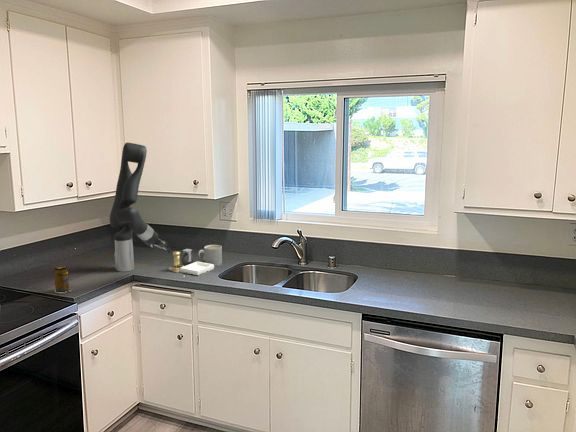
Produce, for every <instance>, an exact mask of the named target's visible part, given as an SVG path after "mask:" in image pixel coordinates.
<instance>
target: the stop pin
mask: <svg viewBox="0 0 576 432" xmlns="http://www.w3.org/2000/svg"><path fill="white" fill-rule="evenodd" d="M172 255H173V266H174V268H180V265H181V251H178V250H177V251H173V252H172Z"/></svg>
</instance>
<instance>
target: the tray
mask: <svg viewBox="0 0 576 432" xmlns="http://www.w3.org/2000/svg"><path fill="white" fill-rule="evenodd" d="M214 269H215V266H214V264H209V263H205V262H204V261H197V260H196V261H195V262H194V261H193V263H192V264H189V265H187V266H184V267H181V268H180V272H179V273H181V274H186V273H187V274H188V275H191V274H193V276H196V275H198V276H200V274H201V275H203V274H205V273H208V272H210V271H212V270H214ZM207 271H208V272H207ZM202 273H203V274H202Z"/></svg>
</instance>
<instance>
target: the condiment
mask: <svg viewBox="0 0 576 432" xmlns="http://www.w3.org/2000/svg"><path fill="white" fill-rule="evenodd" d="M53 277H54V287H55V289H54V290H56V292H65V291H68V290H69V289H70V280H69V279H70V278H69V272H68V266H65V265H58V266H55V267H54V273H53ZM68 292H69V291H68Z"/></svg>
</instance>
